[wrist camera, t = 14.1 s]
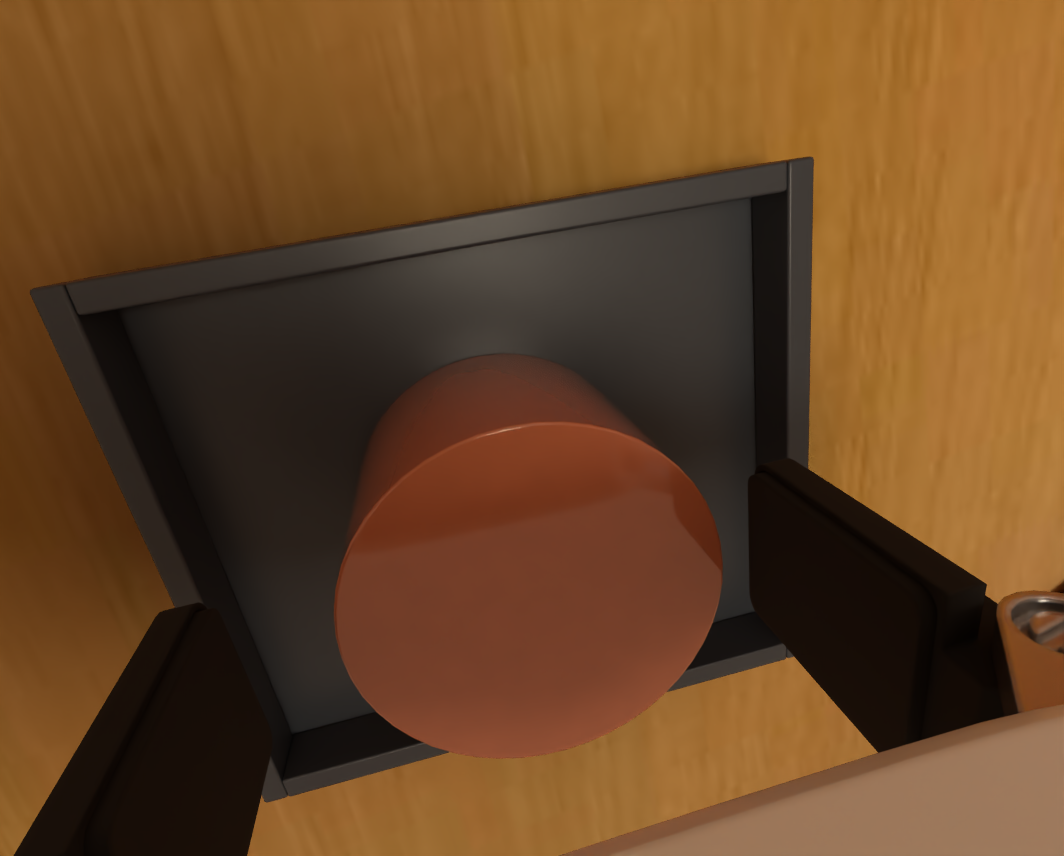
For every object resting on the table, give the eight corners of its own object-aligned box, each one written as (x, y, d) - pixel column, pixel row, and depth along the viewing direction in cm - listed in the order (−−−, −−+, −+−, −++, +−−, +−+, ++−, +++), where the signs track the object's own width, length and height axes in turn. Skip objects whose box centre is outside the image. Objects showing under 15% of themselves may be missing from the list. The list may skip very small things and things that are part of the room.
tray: (281, 740, 17) (264, 804, 15) (84, 278, 12) (25, 289, 10) (767, 611, 19) (805, 653, 17) (762, 163, 14) (814, 155, 12)
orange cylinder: (397, 631, 16) (389, 801, 11) (323, 385, 13) (276, 476, 9) (643, 569, 17) (730, 704, 12) (617, 327, 14) (716, 382, 10)
